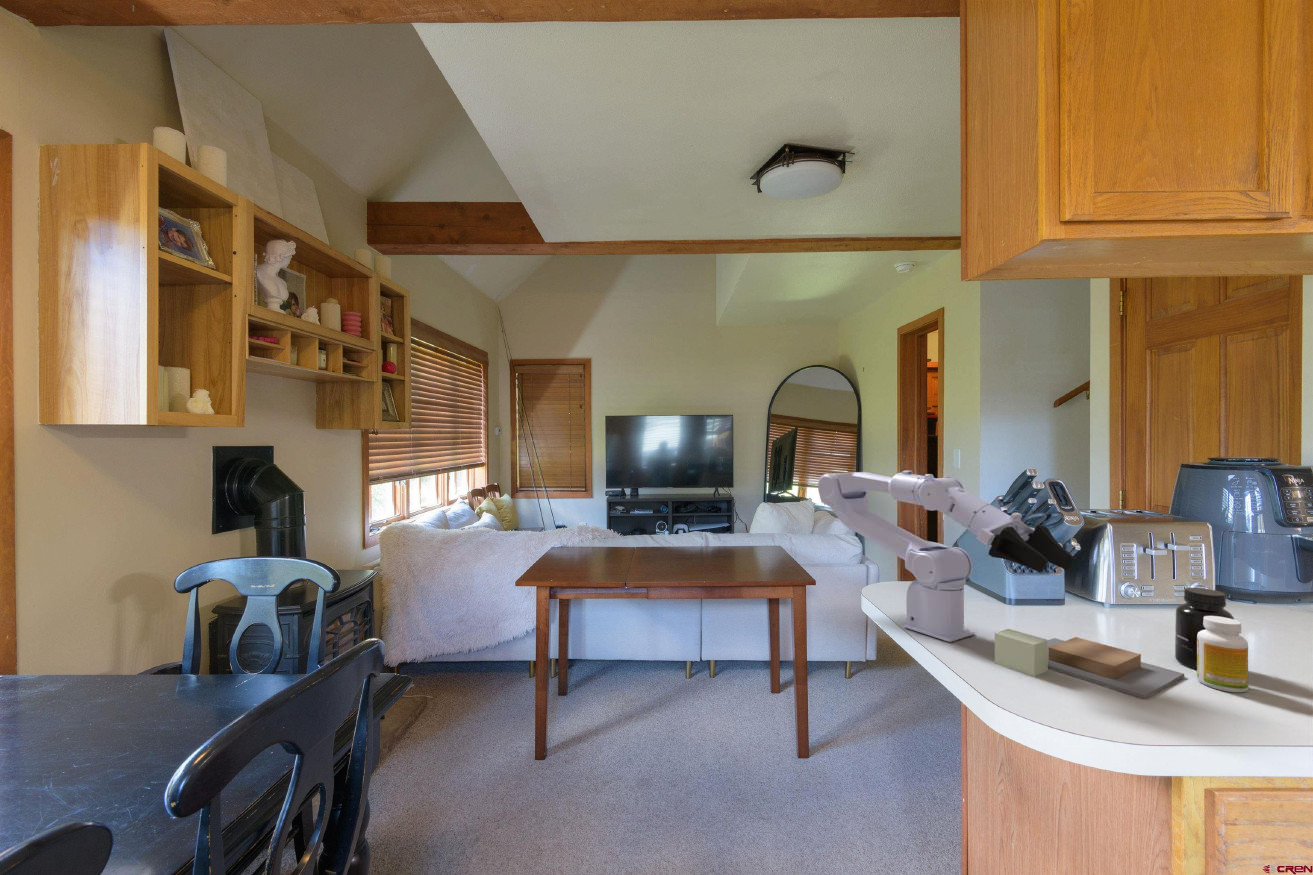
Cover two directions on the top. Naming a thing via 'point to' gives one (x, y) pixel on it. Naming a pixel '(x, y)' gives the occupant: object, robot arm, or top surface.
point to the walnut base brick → (1095, 657)
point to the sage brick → (1021, 652)
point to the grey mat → (1124, 677)
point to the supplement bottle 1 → (1195, 621)
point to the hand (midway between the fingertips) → (1058, 565)
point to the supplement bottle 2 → (1222, 655)
